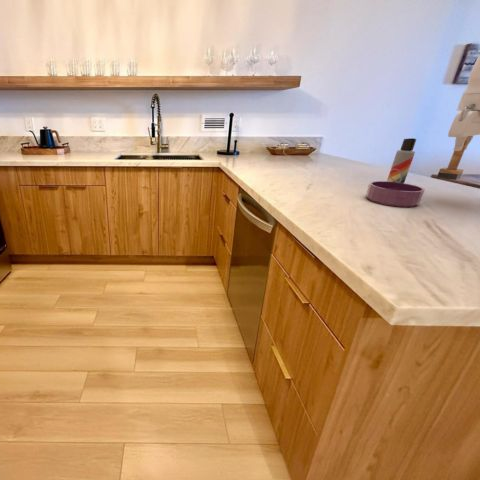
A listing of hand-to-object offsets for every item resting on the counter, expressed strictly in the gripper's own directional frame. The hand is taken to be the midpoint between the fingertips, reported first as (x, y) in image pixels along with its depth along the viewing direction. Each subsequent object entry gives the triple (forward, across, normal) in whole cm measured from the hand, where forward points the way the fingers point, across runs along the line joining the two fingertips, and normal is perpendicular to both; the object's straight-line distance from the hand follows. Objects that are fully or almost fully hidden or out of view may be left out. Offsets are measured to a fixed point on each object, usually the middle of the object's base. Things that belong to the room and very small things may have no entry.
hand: (459, 150), depth 95 cm
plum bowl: (+18, -13, +9) cm, 24 cm away
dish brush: (+9, 0, 0) cm, 9 cm away
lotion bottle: (+18, +8, +17) cm, 26 cm away
